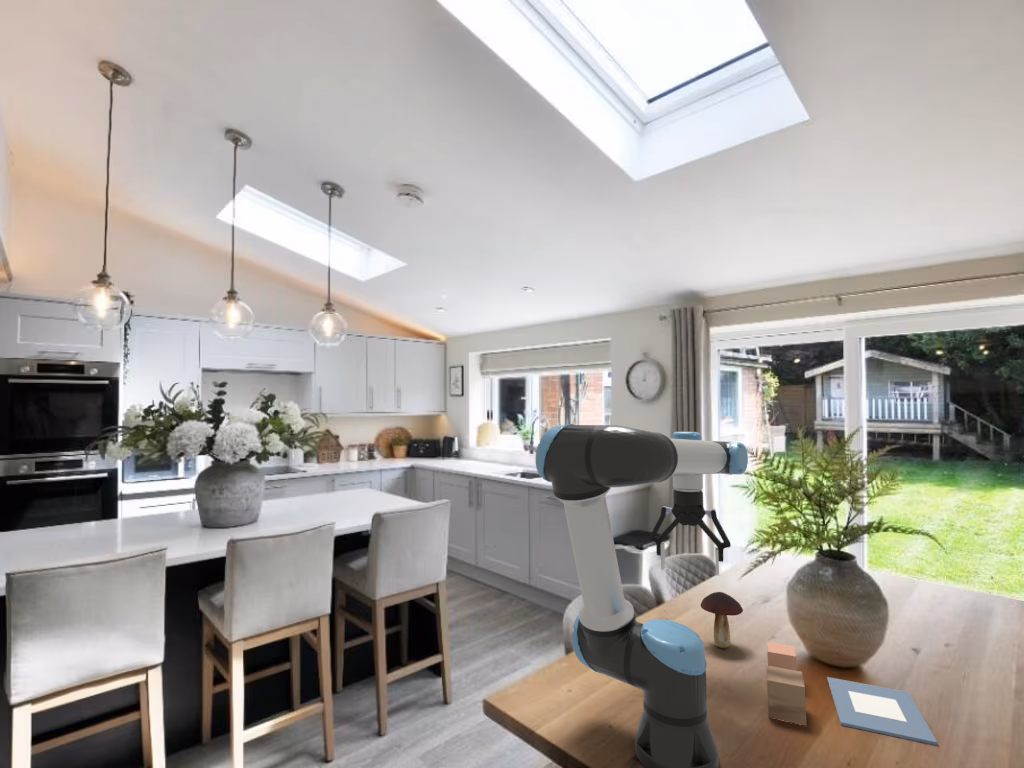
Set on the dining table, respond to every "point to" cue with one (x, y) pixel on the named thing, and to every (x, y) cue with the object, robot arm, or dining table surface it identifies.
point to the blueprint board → (879, 710)
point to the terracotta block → (781, 656)
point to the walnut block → (786, 695)
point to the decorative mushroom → (721, 615)
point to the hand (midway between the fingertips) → (689, 571)
